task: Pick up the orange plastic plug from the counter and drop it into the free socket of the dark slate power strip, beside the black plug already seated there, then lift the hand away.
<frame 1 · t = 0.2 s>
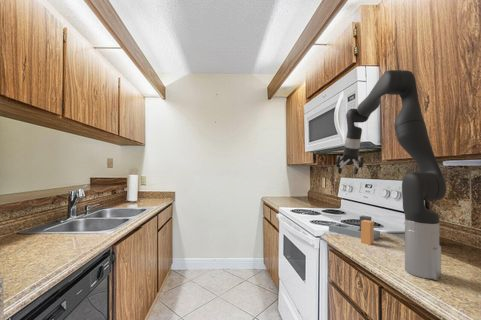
hand: (347, 173, 138), 31 cm above the worktop, tool tilted 20°, fingers open, 8 cm apart
slate power strip: (353, 233, 127), on the worktop
orange plug: (367, 243, 112), on the worktop
food container: (415, 241, 117), on the worktop
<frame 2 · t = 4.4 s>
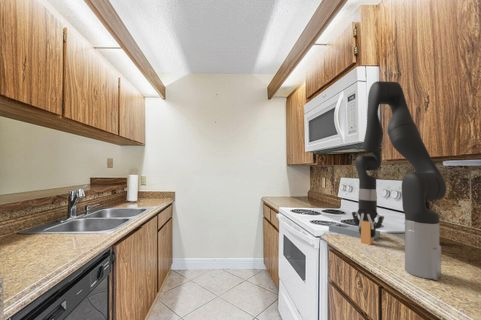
hand: (367, 235, 113), 3 cm above the worktop, tool pointing down, fingers closed on orange plug, 4 cm apart
orange plug: (367, 243, 113), on the worktop, touching gripper
everything else where it was.
when the fingers open (5 cm above the worktop, at t = 11.6 s): orange plug drops 1 cm, resting in slate power strip.
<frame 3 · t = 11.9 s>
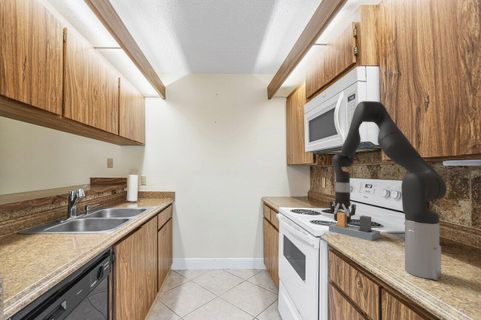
hand: (342, 221, 132), 5 cm above the worktop, tool pointing down, fingers open, 6 cm apart
orange plug: (342, 231, 132), resting in slate power strip
everything else where it was.
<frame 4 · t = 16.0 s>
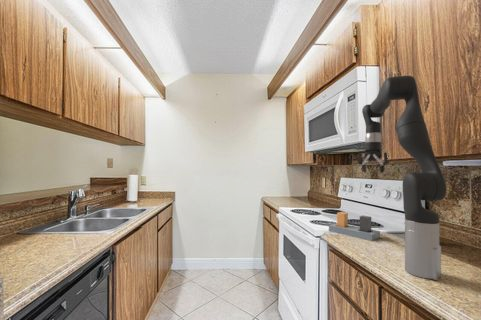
hand: (373, 172, 129), 32 cm above the worktop, tool pointing down, fingers open, 8 cm apart
nothing on the worktop moved.
at the end: orange plug 0.0 cm from the target spot on the slate power strip, point 0.0 cm above the slate power strip's base; orange plug tilted 0°; the gripper is holding nothing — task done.
